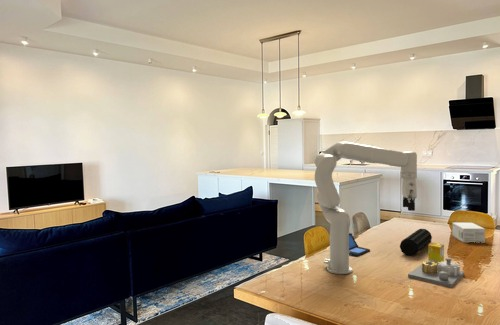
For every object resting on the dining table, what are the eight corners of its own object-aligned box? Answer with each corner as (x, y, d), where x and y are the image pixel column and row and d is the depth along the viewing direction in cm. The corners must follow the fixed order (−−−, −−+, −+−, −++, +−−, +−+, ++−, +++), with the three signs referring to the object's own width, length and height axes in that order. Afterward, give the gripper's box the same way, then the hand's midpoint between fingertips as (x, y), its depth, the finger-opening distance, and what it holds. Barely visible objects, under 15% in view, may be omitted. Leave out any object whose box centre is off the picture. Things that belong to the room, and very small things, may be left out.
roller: (416, 237, 240) (421, 223, 238) (431, 244, 234) (437, 230, 232) (397, 251, 211) (402, 236, 208) (414, 259, 205) (420, 244, 203)
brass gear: (424, 273, 176) (424, 265, 175) (419, 268, 182) (420, 261, 182) (439, 274, 174) (439, 266, 174) (434, 269, 181) (434, 261, 181)
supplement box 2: (451, 235, 249) (452, 222, 248) (472, 236, 247) (472, 222, 246) (462, 242, 232) (463, 228, 231) (485, 243, 230) (485, 228, 230)
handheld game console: (357, 257, 207) (357, 241, 207) (336, 252, 217) (336, 237, 217) (370, 251, 218) (370, 236, 218) (351, 247, 228) (350, 232, 227)
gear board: (408, 277, 176) (408, 260, 175) (423, 266, 190) (423, 250, 190) (451, 287, 163) (451, 269, 162) (464, 275, 177) (464, 258, 176)
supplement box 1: (432, 262, 196) (432, 242, 195) (444, 265, 191) (444, 244, 191) (427, 265, 191) (428, 244, 191) (440, 268, 187) (440, 247, 186)
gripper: (421, 177, 179) (421, 212, 180) (411, 174, 196) (411, 205, 197) (405, 177, 180) (405, 211, 181) (396, 174, 197) (396, 205, 198)
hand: (408, 208), depth 189 cm, fingers open, 9 cm apart
